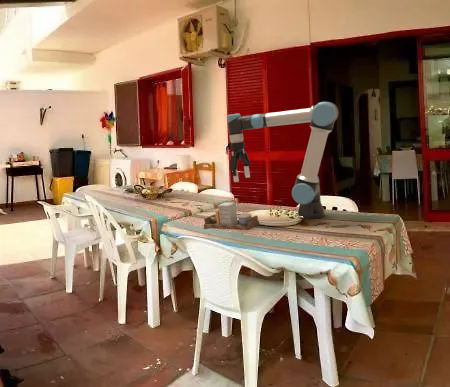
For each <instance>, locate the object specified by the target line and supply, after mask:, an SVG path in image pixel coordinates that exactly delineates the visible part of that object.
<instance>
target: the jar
mask: <svg viewBox="0 0 450 387" xmlns="http://www.w3.org/2000/svg"><path fill="white" fill-rule="evenodd" d="M252 217H253V216H252V213H241V214H239V215H238V214H237V219H238V220H239V225H240V226H247V220H248V219H250V218H252Z"/></svg>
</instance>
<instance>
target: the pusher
mask: <svg viewBox="0 0 450 387" xmlns="http://www.w3.org/2000/svg"><path fill="white" fill-rule="evenodd" d="M215 214H216V220H217V225H220V217H219V209H218V210H215Z"/></svg>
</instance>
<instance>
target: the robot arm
mask: <svg viewBox="0 0 450 387" xmlns="http://www.w3.org/2000/svg"><path fill="white" fill-rule="evenodd" d="M338 117H339V108H338V107H337V105H336V104H335V103H333V102H330V101H321V102H318V103H317V104H316V105H311V107H308V108H307V107H306V108H299V109H291V110H284V111H276V112H275V111H274V112H267V113H256V114H248V115H243V116H242V115H241V114H240V113H233V114H228V115H227V117H226V118H227V128H228V129H227V130H228V135H229V141H230V149H231V150H232V151H231V152H230V160H229V161H230V162H229V170H230V171H232V177H233V183H239V182H240V179H239V171H238V165H239V164H238V163H239V160H240V161H241V162H242V164H243V169H244V176H245V178H246V179H247V178H251V173H250V168H249V167H250V166H251V161H250V158H249V156H248V153H247V149H246V148H245V141H244V134H243V133H244V132H243V131H245V130H255V129H256V130H257V129H262V128H268V127H277V126H285V125H286V126H287V125H295V124H305V123H310V124H309V127H310V129H311V132H310V136H309V140H308V144H307V147H306V152H305V155H304V160H303V164H302V167H301V172H300V173H299V174H298V175H297V176H296V179H295V183H294V186H293V187H292V190H291V198H293V200H294V201H295V202H296V203H298V204H299V207H298V210H297V216H298V215H299V216H303V217H304V220H305V219H306V220H313V219H319V218H320V219H321V218H323V217H325V215H326V214H325V213H326V212H325V208H324V206H323V204H322V201H321V199H322V198H321V189H320V188H321V187H320V178H319V175H318V174H319V170H320V167H321V161H322V159H323V155H324V151H325V147H326V144H327V139H328V137H329V134H330V133H332V131H333V129H334V124H335V122H336V121H337V119H338Z"/></svg>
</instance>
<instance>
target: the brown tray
mask: <svg viewBox="0 0 450 387" xmlns="http://www.w3.org/2000/svg"><path fill="white" fill-rule="evenodd" d="M258 216H259V215H253V216H251V218H250V219H248V220H247V226H240V225H239V219H237V221H238V224H237V225H217V220H216V213H215V214H211V215H210V216H206V217H204V220H203V221H204V224H203V229H204V230H209V229H216V230H217V229H220V230H223V229H224V230H241V231H242V230H244V231H249V230H251V229H252V228H254V227H256V226H258V225H260V220H259V218H258Z"/></svg>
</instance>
